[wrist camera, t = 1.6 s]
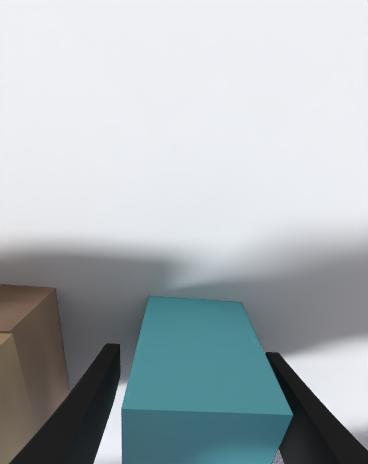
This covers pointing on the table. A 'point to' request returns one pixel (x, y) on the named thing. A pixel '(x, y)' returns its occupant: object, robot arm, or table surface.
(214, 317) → the teal cube
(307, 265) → the table surface
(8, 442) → the tower top
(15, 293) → the tower base
